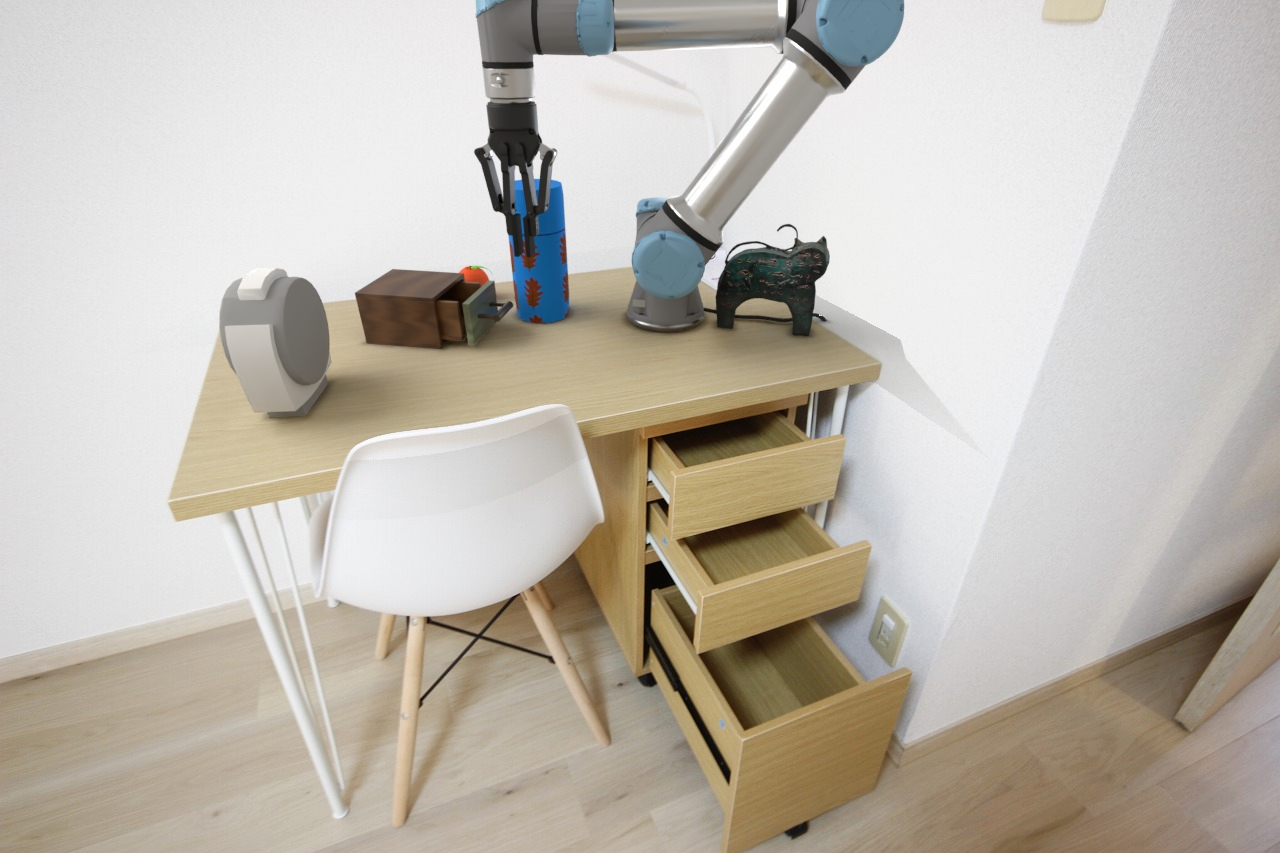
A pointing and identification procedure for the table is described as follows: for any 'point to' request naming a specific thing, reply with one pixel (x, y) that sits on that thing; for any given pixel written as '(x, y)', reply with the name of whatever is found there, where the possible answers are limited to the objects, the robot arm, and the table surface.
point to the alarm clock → (276, 341)
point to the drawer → (469, 311)
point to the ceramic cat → (773, 280)
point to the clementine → (475, 274)
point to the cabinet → (404, 307)
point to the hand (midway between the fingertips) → (525, 254)
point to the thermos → (542, 262)
